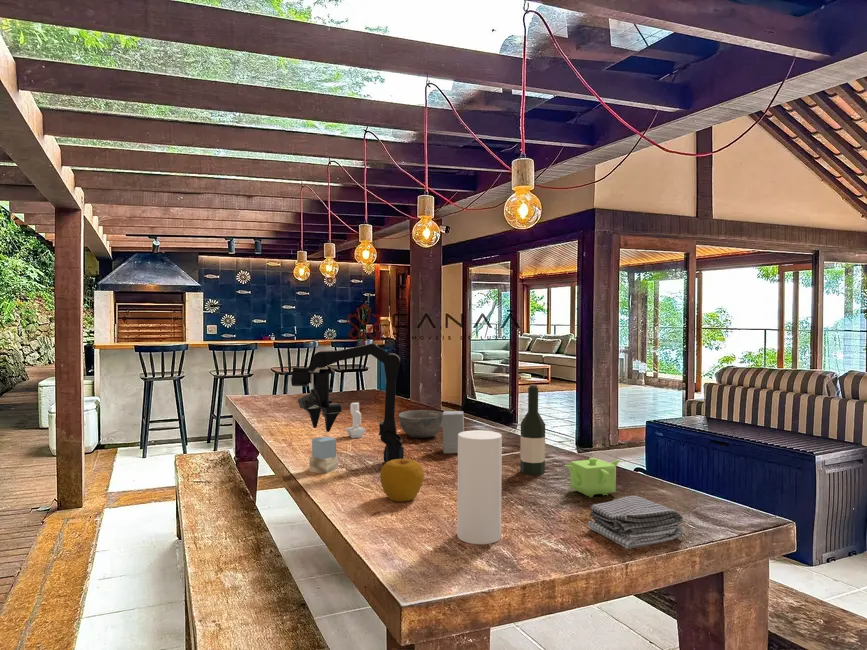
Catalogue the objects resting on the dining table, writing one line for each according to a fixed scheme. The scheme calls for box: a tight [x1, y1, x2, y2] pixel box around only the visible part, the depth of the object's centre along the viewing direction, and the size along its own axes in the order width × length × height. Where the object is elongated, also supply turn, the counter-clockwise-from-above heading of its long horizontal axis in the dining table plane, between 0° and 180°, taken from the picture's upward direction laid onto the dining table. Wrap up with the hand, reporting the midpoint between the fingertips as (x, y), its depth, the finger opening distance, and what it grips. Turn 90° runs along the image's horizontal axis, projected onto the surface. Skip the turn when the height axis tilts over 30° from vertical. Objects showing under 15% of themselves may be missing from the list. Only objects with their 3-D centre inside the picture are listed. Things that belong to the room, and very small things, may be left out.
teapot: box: [564, 457, 621, 498], centre depth 181 cm, size 15×13×11 cm
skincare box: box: [442, 410, 465, 454], centre depth 232 cm, size 8×7×16 cm
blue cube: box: [311, 435, 337, 459], centre depth 205 cm, size 6×6×6 cm
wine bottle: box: [519, 384, 546, 476], centre depth 204 cm, size 8×8×30 cm
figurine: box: [345, 402, 367, 439], centre depth 260 cm, size 7×9×15 cm
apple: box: [379, 458, 425, 503], centre depth 174 cm, size 13×13×11 cm
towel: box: [587, 495, 683, 550], centre depth 148 cm, size 15×18×8 cm
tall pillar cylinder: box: [456, 429, 503, 545], centre depth 145 cm, size 11×11×25 cm
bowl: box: [397, 409, 443, 439], centre depth 262 cm, size 21×21×10 cm
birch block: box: [308, 454, 339, 475], centre depth 205 cm, size 7×7×5 cm
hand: (321, 429), depth 212 cm, fingers open, 9 cm apart
